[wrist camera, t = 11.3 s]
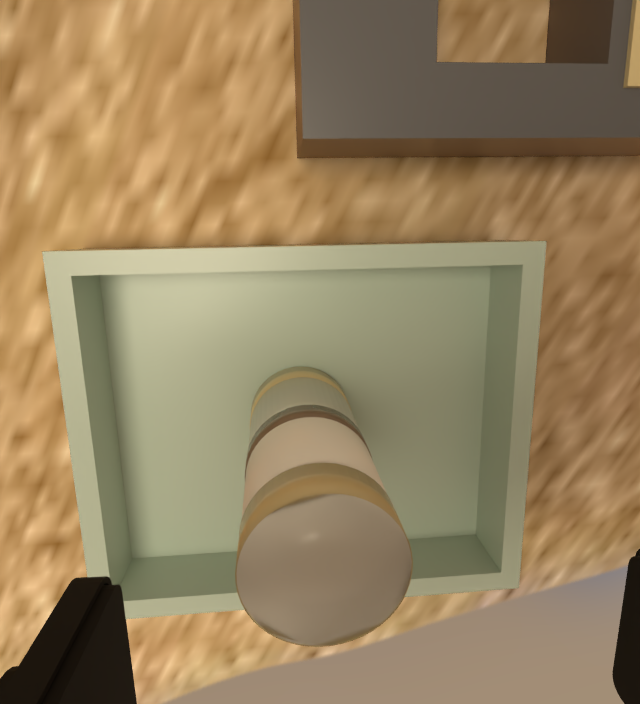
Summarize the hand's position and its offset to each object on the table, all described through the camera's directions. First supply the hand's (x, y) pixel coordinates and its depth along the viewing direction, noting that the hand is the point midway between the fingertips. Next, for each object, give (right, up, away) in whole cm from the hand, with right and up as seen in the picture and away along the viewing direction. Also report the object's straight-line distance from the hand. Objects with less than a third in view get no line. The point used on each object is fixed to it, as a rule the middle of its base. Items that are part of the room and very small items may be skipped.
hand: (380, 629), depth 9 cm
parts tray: (-2, +3, +13) cm, 13 cm away
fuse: (-2, +2, +12) cm, 12 cm away
